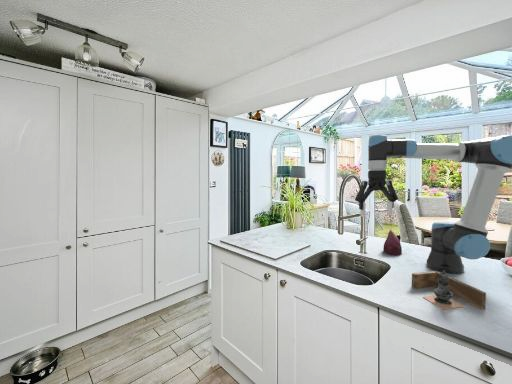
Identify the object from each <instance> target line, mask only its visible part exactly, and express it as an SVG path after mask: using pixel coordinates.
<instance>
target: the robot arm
mask: <svg viewBox="0 0 512 384" xmlns="http://www.w3.org/2000/svg"><path fill="white" fill-rule="evenodd" d="M367 147H368V158H367V159H368V165H367V166H368V167H367V168H368V171H367V178H368V180H362V181H361V184H360V185H361V186H360V188H359V190H358V192H357V195H356V196H355V198H354V201H355V202H358V209H359V210H360V212H359V213H360V217H361V218H366V202H365V201H366V200H367V199H368V197H370V195H371V194H372V193H373V192H374V191H375V192H376V191H381V192H382V193H383V195H384V196H385V197H386V199H387V201H386V216H390V217H393V209H394V207H395V205H394V204H395V202H396V201H398V200H399V197H398V195H397V192H396V190H395V188H394V186H393V180H388V179H386V178H387V166H388V164H387V161H388V160H387V159H422V160H423V159H424V160H452V161H453V162H456V163H467V164H475V167H476V168H477V172H476V175H475V177H474V178H475V179H474V181H473V184H472V186H471V190H470V192H469V195H468V198H467V201H466V203H465V206H464V209H463V212H462V215H461V218H460V220H459V221H455V222H448V221H447V222H446V221H445V222H444V221H443V222H439V221H438V222H437V221H436V222H433V223H432V225H431V236H430V237H431V240H430V241H431V243H430V246H431V248H430V252H429V255H428V258H427V259H426V267H428V268H430V269H432V270H433V271H438V272H440V273H441V272H443V271H445V273H447V274H462V273H463V272H464V270H465V266H464V264H463V259H462V258H465V259H467V260H478V259H481V258H484V257H485V256H486V255H488V253H489V252H490V249H491V242H490V240H489V238H488V237H487V236H488V234H489V231H488V230H487V228H486V225H487V222H488V220H489V218H490V214H491V211H492V210H493V206H494V204H495V201H496V198H497V195H498V193H499V190H500V187H501V185H502V182H503V180H504V176H505V174H506V173H508V172H510V171H511V170H512V135H510V134H507V135H503V134H502V135H498V136H492V137H487V138H481V139H480V138H479V139H476V140H470V141H469V140H468V141H458V142H455V143H435V142H434V143H429V142H427V143H425V142H424V143H423V142H422V143H421V142H420V143H419V142H417V141H416V140H415V139H413V138H405V139H404V138H403V139H402V138H401V139H388V136H387V135H386V134H376V135H371V136H370V137H369V138H368V146H367Z"/></svg>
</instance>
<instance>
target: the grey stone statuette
mask: <svg viewBox="0 0 512 384" xmlns="http://www.w3.org/2000/svg"><path fill="white" fill-rule="evenodd" d="M449 277H450V275H449V273H447V272H445V271H443V272H441V271H440V273H439V280H438V282H439V285H438V287H435V288H434V289H433V292H434V295H436V296H437V297H436V298H434V300H435V301H436V302H438V303H441V304H445V305H451V304H452V302H451V301H450V300H449V299H452V298H453V296H454V295H453V293H452V292H451V291H449V284H450V283H449Z"/></svg>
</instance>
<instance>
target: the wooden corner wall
mask: <svg viewBox="0 0 512 384" xmlns="http://www.w3.org/2000/svg"><path fill="white" fill-rule="evenodd" d="M439 273H441V271H437V270H432V271H431V270H430V271H421V272H413V273H411V288H412V289H423V288H431V287H432V288H433V287H436V288H438V285H439V282H438V280H439ZM449 283H450V284H449V291H451V292H452V293H453V296H454V297H457V298H458V299H460V300H462V301H464V302H466V303H468V304H470V305H472V306H474V307H476V308H478V309H479V310H486V301H487V300H486V298H487V292H485V291H483V290H480V289H478V288H476V287H473V286H471V285H469V284H467V283H465V282H462V281H461V280H458V279H455V278H453V277H451V276H449Z"/></svg>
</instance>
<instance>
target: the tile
mask: <svg viewBox="0 0 512 384" xmlns="http://www.w3.org/2000/svg"><path fill="white" fill-rule="evenodd" d="M436 297H437V296H436V295H435V294H433V295H426V296H425V295H424V296H422V298H423V299H424V300H427V301H428V302H430V303H432V304H433V305H435V306H437V307H438V308H440V309H442V310H443V311H444V310H452V309H458V308H465V307H466V305H463V304H462V303H460V302H458V301H457V300H454V299H453V298H451V299H449V300H450V301H451V302H452V304H451V305H445V304H441V303H438V302H436V301H435V300H434V298H436Z"/></svg>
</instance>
